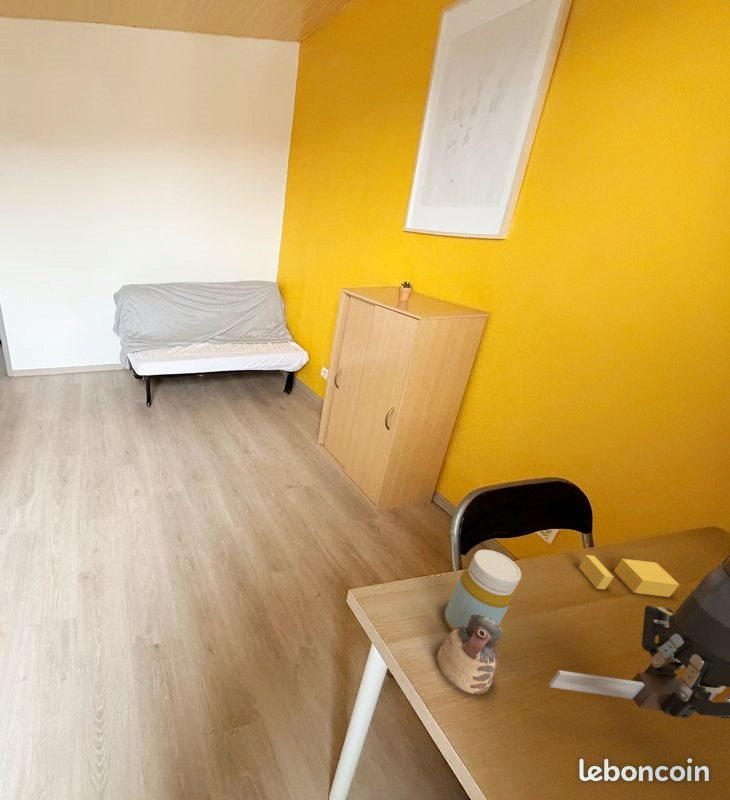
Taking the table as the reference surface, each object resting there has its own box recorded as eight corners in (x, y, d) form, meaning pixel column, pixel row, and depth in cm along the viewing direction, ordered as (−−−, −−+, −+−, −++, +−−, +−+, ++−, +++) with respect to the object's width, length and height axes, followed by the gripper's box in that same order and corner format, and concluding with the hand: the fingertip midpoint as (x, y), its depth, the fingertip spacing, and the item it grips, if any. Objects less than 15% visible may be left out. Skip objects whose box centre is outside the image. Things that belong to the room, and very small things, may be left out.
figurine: (497, 679, 63) (528, 629, 57) (473, 706, 59) (504, 656, 54) (450, 640, 68) (475, 591, 63) (426, 663, 65) (449, 614, 59)
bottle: (433, 616, 72) (461, 555, 65) (461, 602, 75) (490, 542, 68) (471, 653, 66) (505, 590, 59) (499, 637, 69) (535, 575, 62)
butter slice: (585, 570, 82) (594, 555, 80) (603, 591, 77) (614, 577, 76) (576, 569, 82) (586, 554, 80) (595, 590, 78) (605, 576, 76)
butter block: (645, 576, 81) (656, 562, 79) (667, 599, 76) (679, 584, 74) (611, 573, 81) (621, 558, 79) (632, 594, 77) (643, 580, 75)
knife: (673, 695, 55) (689, 679, 53) (690, 715, 52) (707, 699, 51) (543, 676, 56) (554, 660, 55) (554, 695, 54) (566, 679, 52)
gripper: (864, 684, 39) (748, 771, 47) (720, 566, 51) (647, 650, 59) (774, 672, 40) (675, 759, 48) (653, 558, 52) (590, 643, 60)
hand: (660, 698), depth 54 cm, fingers closed on knife, 2 cm apart
